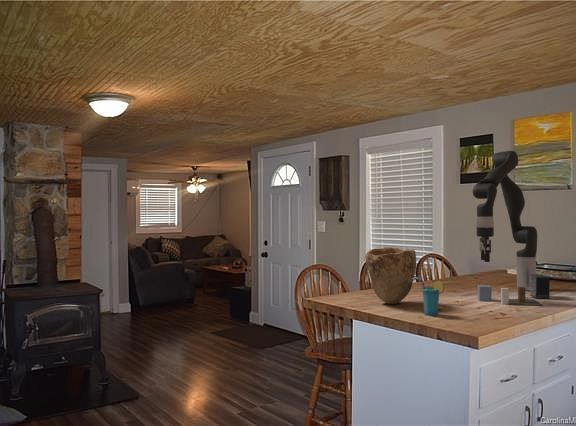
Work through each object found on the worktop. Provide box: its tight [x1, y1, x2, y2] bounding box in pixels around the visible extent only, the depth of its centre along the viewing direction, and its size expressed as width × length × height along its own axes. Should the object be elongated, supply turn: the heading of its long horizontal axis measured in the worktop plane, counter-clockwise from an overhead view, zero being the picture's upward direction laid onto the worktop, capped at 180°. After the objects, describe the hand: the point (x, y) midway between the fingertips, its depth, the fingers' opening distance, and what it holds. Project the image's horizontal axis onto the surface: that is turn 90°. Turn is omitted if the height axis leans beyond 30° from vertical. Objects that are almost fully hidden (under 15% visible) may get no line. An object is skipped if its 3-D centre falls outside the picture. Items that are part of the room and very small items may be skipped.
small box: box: [529, 274, 550, 300], centre depth 242 cm, size 11×6×10 cm, turn 168°
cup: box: [412, 276, 445, 317], centre depth 206 cm, size 14×8×15 cm, turn 53°
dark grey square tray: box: [508, 287, 544, 307], centre depth 229 cm, size 14×14×7 cm
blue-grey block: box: [477, 284, 493, 302], centre depth 237 cm, size 5×5×7 cm
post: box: [500, 287, 510, 306], centre depth 227 cm, size 3×3×7 cm
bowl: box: [364, 246, 417, 305], centre depth 230 cm, size 22×22×25 cm
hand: (485, 261), depth 236 cm, fingers open, 8 cm apart
